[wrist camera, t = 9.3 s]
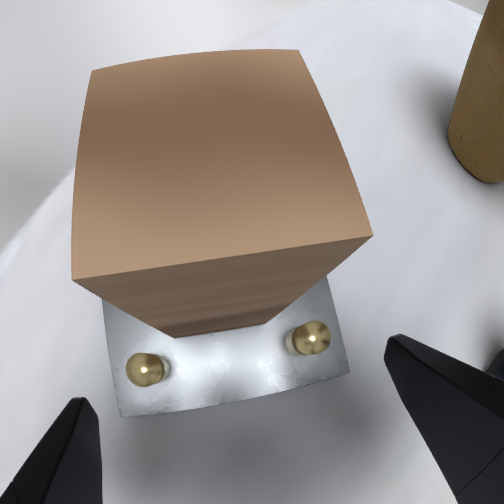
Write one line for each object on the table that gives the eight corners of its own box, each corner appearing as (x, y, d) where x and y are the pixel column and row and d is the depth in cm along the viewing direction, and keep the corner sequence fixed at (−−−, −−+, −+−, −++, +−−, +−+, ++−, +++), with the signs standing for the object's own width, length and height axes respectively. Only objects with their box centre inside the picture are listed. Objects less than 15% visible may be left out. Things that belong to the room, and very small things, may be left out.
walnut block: (265, 323, 18) (373, 235, 5) (174, 338, 17) (72, 280, 5) (248, 238, 19) (298, 49, 7) (163, 251, 18) (92, 70, 6)
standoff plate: (343, 372, 18) (373, 373, 14) (125, 414, 16) (103, 426, 12) (292, 179, 22) (306, 144, 18) (101, 208, 20) (81, 177, 16)
